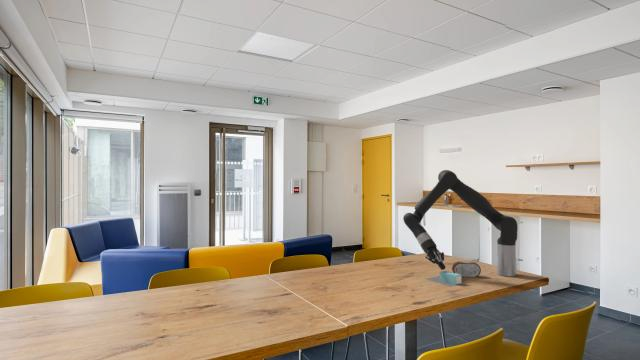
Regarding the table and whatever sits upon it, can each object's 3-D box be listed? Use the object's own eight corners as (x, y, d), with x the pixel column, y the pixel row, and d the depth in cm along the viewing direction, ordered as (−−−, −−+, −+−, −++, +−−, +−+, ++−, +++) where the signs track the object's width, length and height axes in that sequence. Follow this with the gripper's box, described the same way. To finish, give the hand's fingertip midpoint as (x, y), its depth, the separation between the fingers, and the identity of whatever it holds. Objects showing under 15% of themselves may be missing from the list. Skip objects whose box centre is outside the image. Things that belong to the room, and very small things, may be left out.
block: (445, 270, 194) (461, 274, 185) (445, 279, 194) (461, 283, 185) (439, 271, 192) (455, 275, 183) (439, 280, 192) (455, 284, 183)
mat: (442, 276, 202) (442, 275, 202) (468, 283, 187) (468, 282, 187) (424, 279, 195) (424, 278, 195) (450, 287, 180) (450, 286, 180)
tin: (479, 276, 202) (479, 261, 202) (481, 278, 199) (481, 262, 199) (451, 276, 204) (451, 260, 204) (453, 277, 200) (453, 262, 201)
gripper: (421, 239, 197) (439, 266, 187) (438, 237, 204) (456, 263, 193) (414, 247, 202) (431, 274, 191) (431, 245, 209) (448, 271, 198)
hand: (443, 268), depth 192 cm, fingers closed
